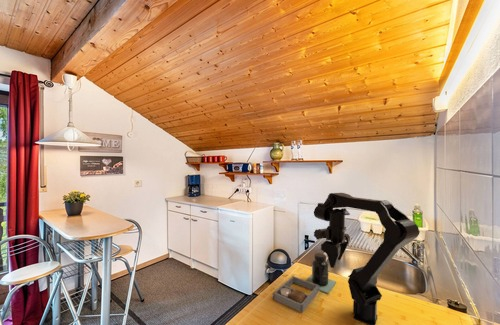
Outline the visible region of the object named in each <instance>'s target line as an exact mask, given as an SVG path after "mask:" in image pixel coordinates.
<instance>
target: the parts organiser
mask: <svg viewBox="0 0 500 325" xmlns="http://www.w3.org/2000/svg"><path fill="white" fill-rule="evenodd" d="M293 284H295V285H297V286H300V287H304V288H306V289H308V290H311V292H310V293H309V294H307V293H305V300H304V301H303V302H302V303H298V302H296V301H294V300H292V299H289V298H287V297H285V296H282V295H281V289H282V288H288V289H290V290H291V293H292V292H293V291H294V290H295V289H296V288H295V289H294V288H293V287H291V286H292V285H293ZM319 292H320V291H319V285H317V284H314V283H311V282H308V281H306V279H303V278H300V277H297V276H295V275H292V276H291V277H290V278H288V280H286V281H285V282H284V283H282V284H281V286H279V287H278V288H276V290H274V291H273V292H272V300H273V301H275V302H277V303H279V304H281V305H284V306H286V307H289V308H291V309H293V310H296V311H297V312H299V313H304V311H305V310H306V309H307V307H308V306H309V305H310V304H311V303H312V301H313V300H314V299H315V297H317V295H318V294H319Z"/></svg>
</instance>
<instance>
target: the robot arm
mask: <svg viewBox="0 0 500 325" xmlns="http://www.w3.org/2000/svg"><path fill="white" fill-rule="evenodd" d="M347 208H351V209H357V210H361V211H362V210H363V211H367V212H373V213H376V215H377V216H378V220H379V222H380V224H381V225H382V227H383V228H384V232H383V241H382V242H381V243H380V245H379V246H378V247H377V249H376V250H375V251H374V253H373V254H372V256H370V258H369V260H368V261H367V263H365V265H364V266H359V267H356V268H354V269H353V270H351V273H350V274H349V275H348V276H347V277H348V280H347V283H348V287H349V292H350V296H351V300H353V301H352V302H353V304H352V305H353V306H352V309H353V310H352V312H353V319H355V320H358V321H360V322H363V323H364V324H366V325H376V323H377V320H378V312H377V310H378V308H377V306H378V301H381V299H382V297H383V295H382V293H381V291H380V289H378V287H377V283H378V276H379V275H380V274H381V273H382V272H383V270H384V268H385V267H387V265H388V264H389V262H390V261H392V259H393V257H394V256H395V255H397V253H398V251H399V250H400V249H402V248H403V247H405V246H406V245H408V244H409V243H411V242H412V241H414V240H415V239H417V238H418V237H419V235H420V229H419V226H418V225H417V224H416V222H414V221H413V220H411V219H410V218H409V216H407V215H406V214H405V213H403V211H401V210H400V209H398V208H397V207H395V206H394V205H393V203H392V202H390V201H389V200H387V199H386V200H379V199H371V198H363V197H356V196H352V195H350V194H348V193H345V192H331V193H328V195H327V198H326V200H325V201H324V202H317V205H316V206H315V208H314V209H313V210H314V211H313V216H314V217H315V219H316V218H317V219H318V220H321V221H324V222H328V226H326V228H321V229H320V228H319V229H317V228H316V229H315V230H314V232H313V237H315V238H316V240H322V239H325V241H324V242H322V243H321V245H320V250H321V251H323V252H324V254H325V255H326V257H327V259H328V262H329V263H328V264H329V267H330V268H332V269H333V268H335V266H336V263H337V262H338V260H339V261H341V260H342V257H343V256H344V254H345V252H346V249H347V247H348V246H349V243H350V242H351V236H350V235H349V234H348V233H345V231H346V229H347V227H346V226H345V221H346V220H345V218H346V217H345V216H350V215H351V214H350V212H349V210H347Z"/></svg>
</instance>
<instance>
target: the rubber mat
mask: <svg viewBox="0 0 500 325" xmlns="http://www.w3.org/2000/svg"><path fill="white" fill-rule="evenodd" d="M305 280H306V281H308V282H311V283H313V282H312V273H311V275H309V277H307V278H306V279H305ZM336 284H337V281H335V280H332V279H330V278H328V284H327V285H326V286H319V292H321V293H324V294H327V295H329V294H330V292H331V291H332V290H333V288H334V287H335V285H336Z"/></svg>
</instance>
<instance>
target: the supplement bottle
mask: <svg viewBox="0 0 500 325" xmlns="http://www.w3.org/2000/svg"><path fill="white" fill-rule="evenodd" d="M311 262H312V263H311V274H312V282H313V283H314V284H317V285H319V286H326V285H327V284H328V279H329V263H328V261H327V254H326V253H321V252H319V253H317V252H316V253H314V259H313V260H312V261H311Z"/></svg>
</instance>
